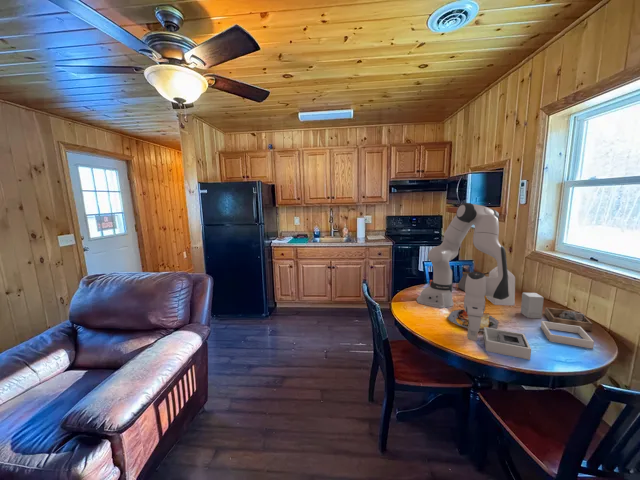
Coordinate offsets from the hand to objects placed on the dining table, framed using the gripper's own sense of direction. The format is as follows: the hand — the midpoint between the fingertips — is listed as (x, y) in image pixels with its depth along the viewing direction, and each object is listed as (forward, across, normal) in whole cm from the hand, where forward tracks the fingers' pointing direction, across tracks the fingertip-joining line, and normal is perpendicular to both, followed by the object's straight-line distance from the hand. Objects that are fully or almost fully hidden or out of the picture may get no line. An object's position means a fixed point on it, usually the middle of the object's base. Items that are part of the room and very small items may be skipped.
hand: (472, 332), depth 129 cm
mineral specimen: (+3, -38, +47) cm, 61 cm away
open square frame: (+3, -19, +40) cm, 44 cm away
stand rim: (+3, -39, +46) cm, 60 cm away
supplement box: (+3, -41, +31) cm, 52 cm away
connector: (+3, 0, 0) cm, 3 cm away
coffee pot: (+3, -75, +4) cm, 75 cm away
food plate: (+4, -19, +1) cm, 19 cm away
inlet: (+3, +3, +15) cm, 16 cm away
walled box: (+3, +3, +13) cm, 14 cm away
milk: (+3, -58, +18) cm, 61 cm away
